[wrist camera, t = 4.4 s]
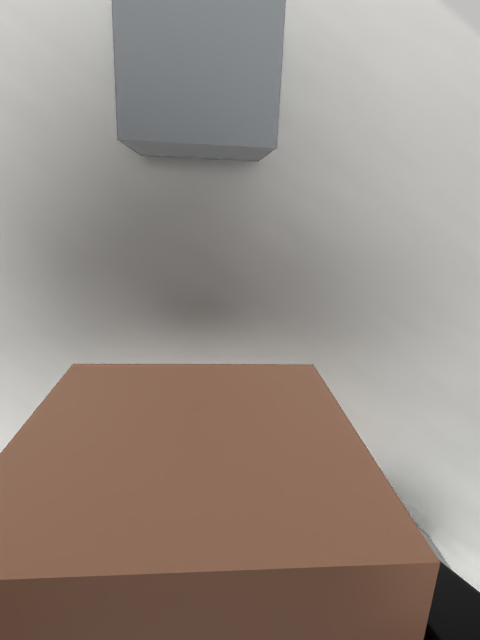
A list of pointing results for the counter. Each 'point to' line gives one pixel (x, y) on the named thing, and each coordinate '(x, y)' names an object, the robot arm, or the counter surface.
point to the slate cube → (198, 76)
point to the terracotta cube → (203, 513)
